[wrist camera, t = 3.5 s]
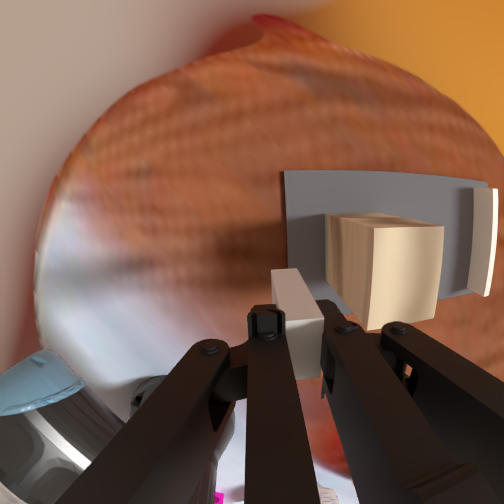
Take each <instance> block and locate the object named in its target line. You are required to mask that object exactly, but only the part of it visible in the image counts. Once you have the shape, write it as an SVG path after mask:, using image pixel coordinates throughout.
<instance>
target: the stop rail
mask: <svg viewBox="0 0 504 504" xmlns="http://www.w3.org/2000/svg"><path fill="white" fill-rule="evenodd" d="M473 189H474V217H473V238H472V251H471V260H470V269H469V276H468V283H467V288H468V289H470V290H472V291H474V292H476V293H478V294H480V295H482V296H483V297H485V296H488V295H489V291H490V286H491V280H492V274H493V267H494V259H495V250H496V239H497V223H498V189H493V188H474V187H473Z"/></svg>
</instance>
